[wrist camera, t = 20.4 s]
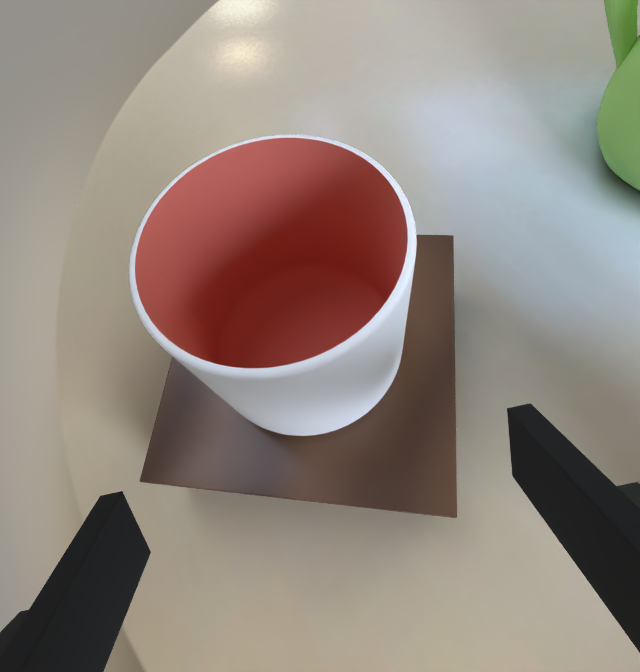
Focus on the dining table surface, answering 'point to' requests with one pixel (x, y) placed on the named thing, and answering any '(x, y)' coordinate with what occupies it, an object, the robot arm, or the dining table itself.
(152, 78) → the dining table surface
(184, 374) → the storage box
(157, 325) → the cup
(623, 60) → the teapot
